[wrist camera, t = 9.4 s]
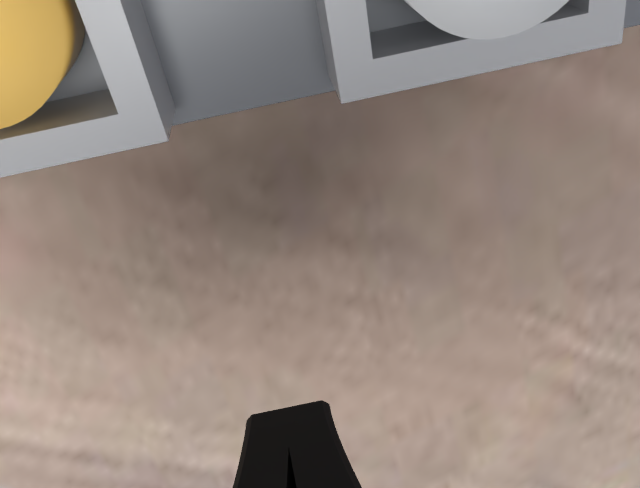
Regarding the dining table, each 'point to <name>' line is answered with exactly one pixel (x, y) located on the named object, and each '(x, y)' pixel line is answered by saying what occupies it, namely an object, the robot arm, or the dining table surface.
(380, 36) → the control panel
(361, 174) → the dining table surface
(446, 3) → the grey button
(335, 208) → the dining table surface
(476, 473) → the dining table surface
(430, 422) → the dining table surface
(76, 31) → the amber button
